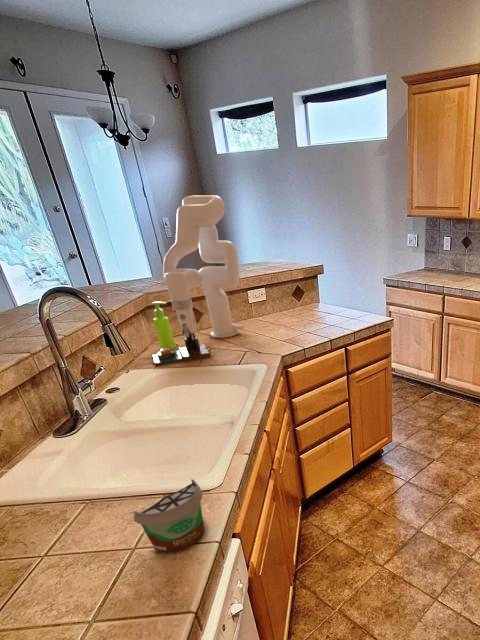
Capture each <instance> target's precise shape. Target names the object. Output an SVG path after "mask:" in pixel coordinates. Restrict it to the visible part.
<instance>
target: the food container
mask: <svg viewBox="0 0 480 640" xmlns="http://www.w3.org/2000/svg"><path fill="white" fill-rule="evenodd" d="M190 481H191V483H190V484H188V485H187V486H185V487H183V488H181V489H180V490H177V491H174V492H173V493H170V494H168V495H165V496H164V497H163V498H162V499H160V500H158V501H157V502H155V503H154V504H152V505H151V506H150V507H148V508H146V509H145V510H142V511H141V512H138V511H136V510H133V512H134V514H133V521H134V523H136V524H138V525H140V526H141V527H142V529H143V530H144V533H145V534H146V536H147V538H148V540H149V542H150V543H151V545H152V546H153V549H154V550H155V551H156V552H158V553H163V554H173V553H178V552H181V551H184V550H187V549H189V548H191V547H193V546H194V545H195V544H197V543H198V542H199V541H200V540H201V539H202V538H203V536H204V534H205V523H204V517H203V511H202V506H201V505H202V504H201V503H202V500H203V496H204V495H203V490H202V488H201V487H200V485H199V483H198V482H196V481H195V480H194V479H193V478H191V480H190Z"/></svg>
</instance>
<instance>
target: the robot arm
mask: <svg viewBox="0 0 480 640" xmlns="http://www.w3.org/2000/svg"><path fill="white" fill-rule="evenodd" d="M181 204H182V205H180V206H179V207H178V208H177V210H176V229H175V232H176V233H175V242H174V243H173V244H172V246H170V248H169V249H168V251H167V252H166V254H165V256H164V259H163V264H162V266H163V267H162V275H163V276H162V277H163V281H164V283H165V285H166V288H167V291H168V295H169V299H170V302H171V306H172V310H173V311H175V312H176V318H177V322H178V326H179V329H180V333H181V334H182V335H184V338H186V342H187V346H188V349H189V350H195V349H197V347H196V343H195V340H194V338H196V332H197V330H198V323H197V321H196V320H197V319H196V317H195V313H194V310H193V308H194V303H193V300H192V294H191V292H190V289H197V288H199V287H202V290H203V294H204V296H205V301H206V306H207V309H208V315H209V319H210V323H211V328H212V331H211V332H210V335H209V336H210V337H211V338H214V339H224V338H225V339H226V338H232V337H234V336H236V335H238V334H239V331H238V330H242V329H243V330H244V329H245V325H244V324H234V323H233V319H232V313H231V307H230V302H229V298H228V295H227V294H226V292H225V290H224V289H235V288H237V287H238V286H239V285H240V270H239V260H238V259H239V258H238V257H239V256H238V252H237V251H238V250H237V248H236V245H235V244H234V243H233V242H232V241H230V240H223V239H222V240H221V239H219V233H218V228H217V226H216V225H217V224H218V223H219V221H221V220H222V218H223V217H224V216H225V213H226V205H225V202H224V200H223V199H222V198H221V197H220V196H218V195H209V194H207V195H206V194H205V195H187V196H185V197H183V199H182V202H181ZM197 249H198V251H199V257H200V259H201V261H203V262H204V263H207V264H224V265H207V266H203V267H201V268H200V269H199V270H198V269H195V268H177V265H178V263H179V262H180V260H182V259H183V258H184V257H185V256H187V255H189V254H191V253H192V252H195V251H196V250H197Z"/></svg>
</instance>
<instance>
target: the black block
mask: <svg viewBox="0 0 480 640" xmlns="http://www.w3.org/2000/svg"><path fill="white" fill-rule="evenodd" d="M194 340H195V343H196V347H197V349H195V350H189V349H188V346H187V342H186V337H184V345H185V347H186V349H187V351H198V350H200V345H201V344H200V341H199V338H198V337H195V338H194Z"/></svg>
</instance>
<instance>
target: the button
mask: <svg viewBox="0 0 480 640" xmlns="http://www.w3.org/2000/svg"><path fill="white" fill-rule="evenodd" d="M170 350H171V349H170V348H163V349H162V348H160V349H159V352H161V354H168V353H171V351H170Z"/></svg>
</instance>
